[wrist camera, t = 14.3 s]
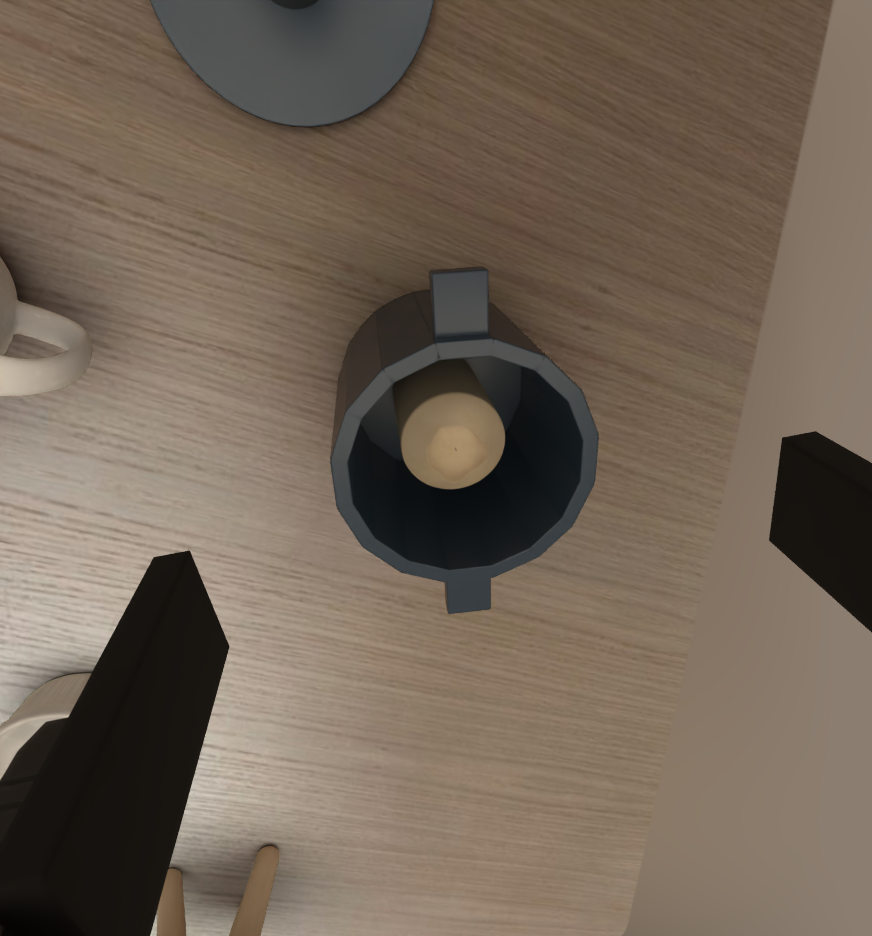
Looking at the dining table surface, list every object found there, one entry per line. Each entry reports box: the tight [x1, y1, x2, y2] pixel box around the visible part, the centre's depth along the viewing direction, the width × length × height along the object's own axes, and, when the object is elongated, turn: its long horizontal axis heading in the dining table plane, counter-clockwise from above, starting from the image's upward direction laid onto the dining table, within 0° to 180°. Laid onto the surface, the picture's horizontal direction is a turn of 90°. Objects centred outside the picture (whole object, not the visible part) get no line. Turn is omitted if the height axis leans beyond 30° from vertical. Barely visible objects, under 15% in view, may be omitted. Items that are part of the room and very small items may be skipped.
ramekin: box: [0, 673, 92, 780], centre depth 46 cm, size 11×11×5 cm
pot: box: [330, 267, 599, 614], centre depth 34 cm, size 13×18×12 cm
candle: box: [393, 358, 505, 489], centre depth 34 cm, size 6×6×10 cm
